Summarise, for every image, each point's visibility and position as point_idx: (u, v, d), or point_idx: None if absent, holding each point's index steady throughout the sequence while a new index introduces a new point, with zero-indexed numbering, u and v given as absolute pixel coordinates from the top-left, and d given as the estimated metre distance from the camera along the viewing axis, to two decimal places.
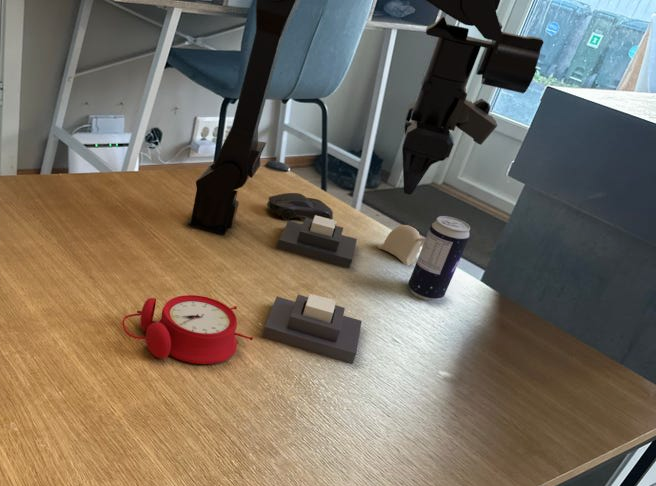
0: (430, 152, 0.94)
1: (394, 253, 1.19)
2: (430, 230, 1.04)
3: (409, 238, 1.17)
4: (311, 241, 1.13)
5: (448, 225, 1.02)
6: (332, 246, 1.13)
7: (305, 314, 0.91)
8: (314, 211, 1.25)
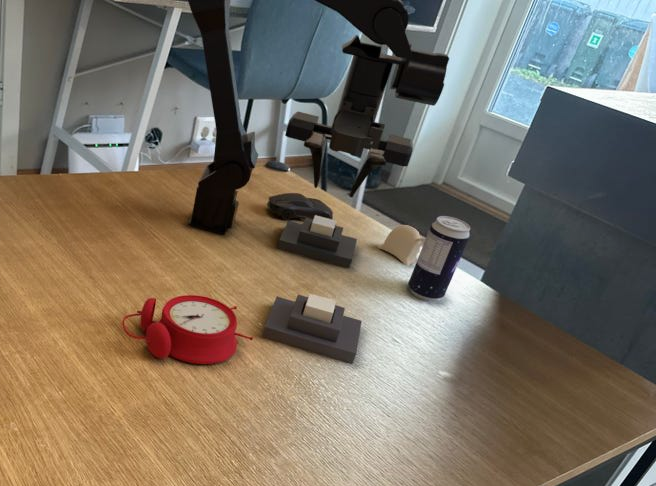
0: None
1: (394, 253, 1.19)
2: (430, 230, 1.04)
3: (409, 238, 1.17)
4: (311, 241, 1.13)
5: (448, 225, 1.02)
6: (332, 246, 1.13)
7: (305, 314, 0.91)
8: (314, 211, 1.25)
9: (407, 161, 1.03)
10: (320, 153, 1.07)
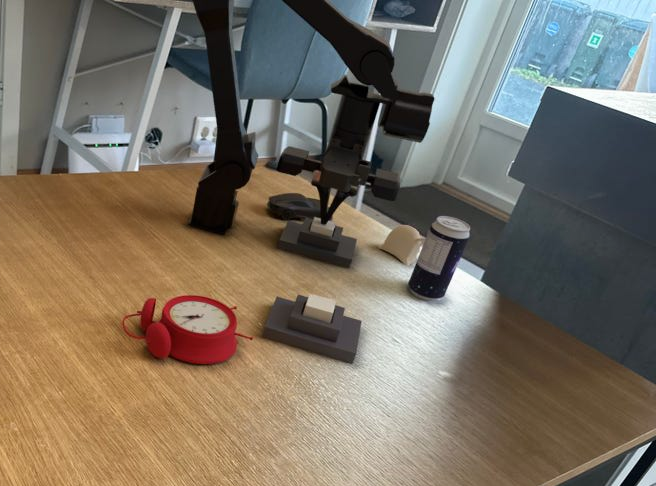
0: None
1: (394, 253, 1.19)
2: (430, 230, 1.04)
3: (409, 237, 1.17)
4: (311, 241, 1.13)
5: (448, 225, 1.02)
6: (332, 246, 1.13)
7: (305, 314, 0.91)
8: (314, 211, 1.25)
9: (394, 196, 1.06)
10: (327, 191, 1.10)
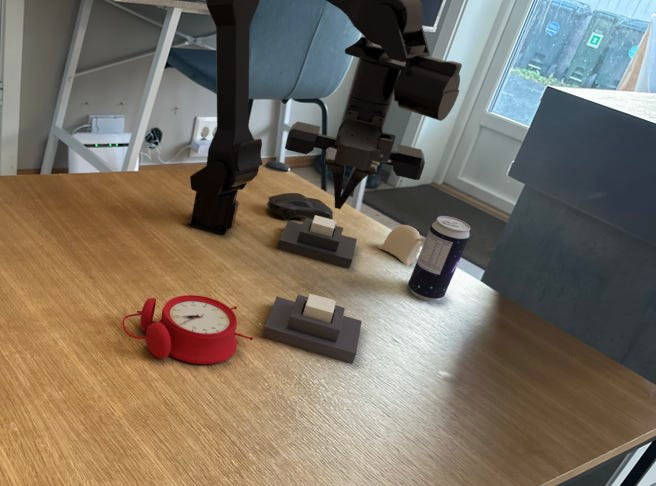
0: None
1: (394, 253, 1.19)
2: (430, 230, 1.04)
3: (409, 238, 1.17)
4: (311, 241, 1.13)
5: (448, 225, 1.02)
6: (332, 246, 1.13)
7: (305, 314, 0.91)
8: (314, 211, 1.25)
9: (419, 174, 0.95)
10: (342, 171, 0.98)
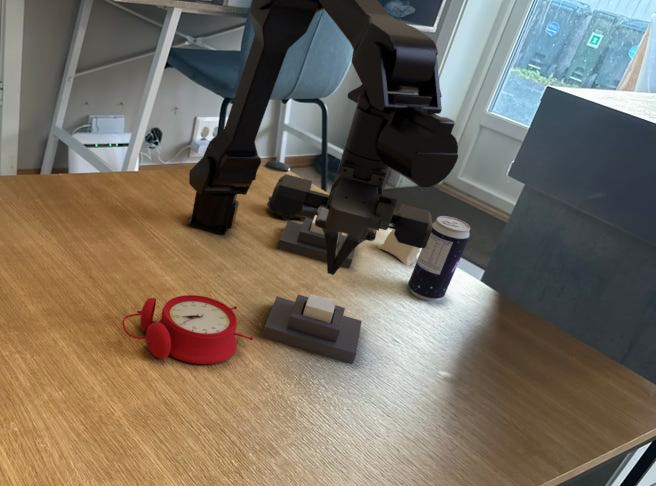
0: None
1: (394, 253, 1.19)
2: None
3: None
4: (311, 241, 1.13)
5: (448, 225, 1.02)
6: None
7: (305, 314, 0.91)
8: (314, 211, 1.25)
9: (425, 242, 0.81)
10: (335, 234, 0.84)
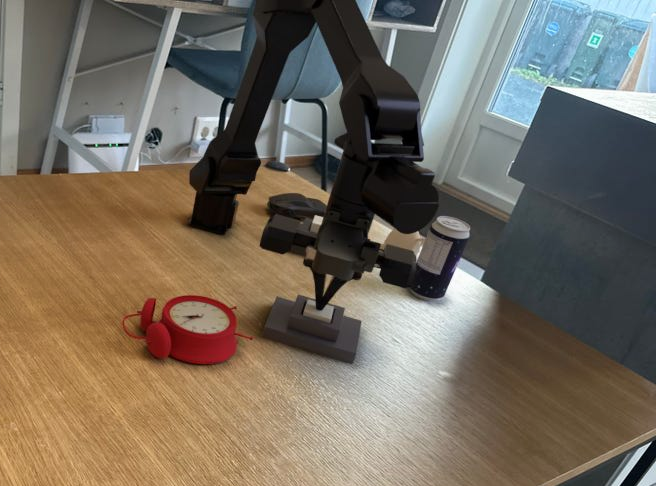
0: None
1: None
2: (430, 230, 1.04)
3: (409, 238, 1.17)
4: None
5: (448, 225, 1.02)
6: None
7: None
8: (314, 211, 1.25)
9: (409, 282, 0.84)
10: (323, 273, 0.87)
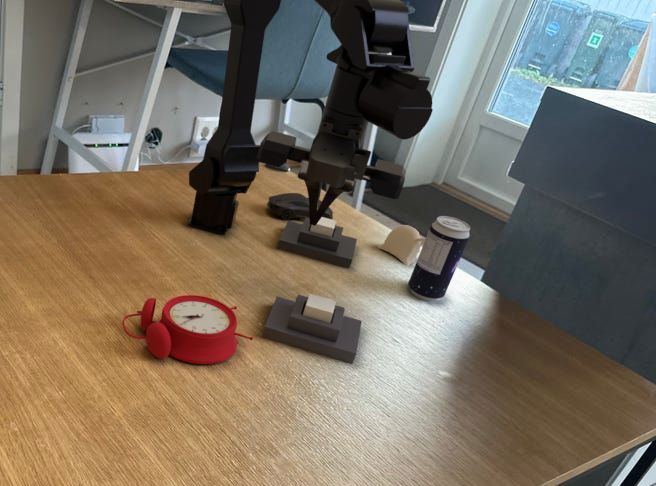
0: None
1: (394, 253, 1.19)
2: (430, 230, 1.04)
3: (409, 237, 1.17)
4: (311, 241, 1.13)
5: (448, 225, 1.02)
6: (332, 246, 1.13)
7: (305, 314, 0.91)
8: None
9: (398, 193, 0.88)
10: (317, 186, 0.91)
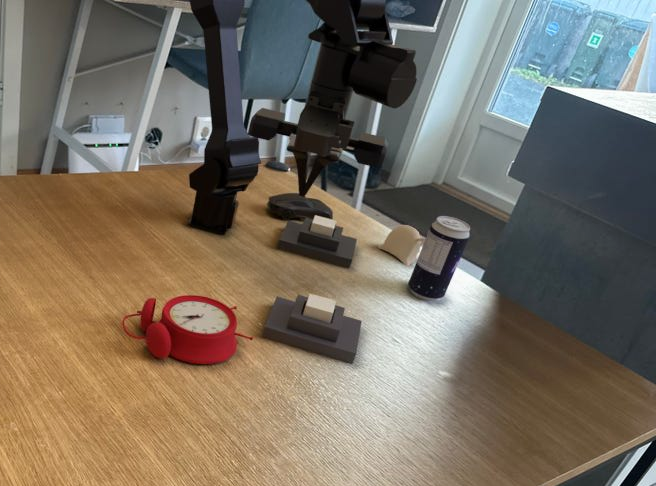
0: None
1: (394, 253, 1.19)
2: (430, 230, 1.04)
3: (409, 237, 1.17)
4: (311, 241, 1.13)
5: (448, 225, 1.02)
6: (332, 246, 1.13)
7: (305, 314, 0.91)
8: (314, 211, 1.25)
9: (381, 162, 0.94)
10: (305, 158, 0.97)
